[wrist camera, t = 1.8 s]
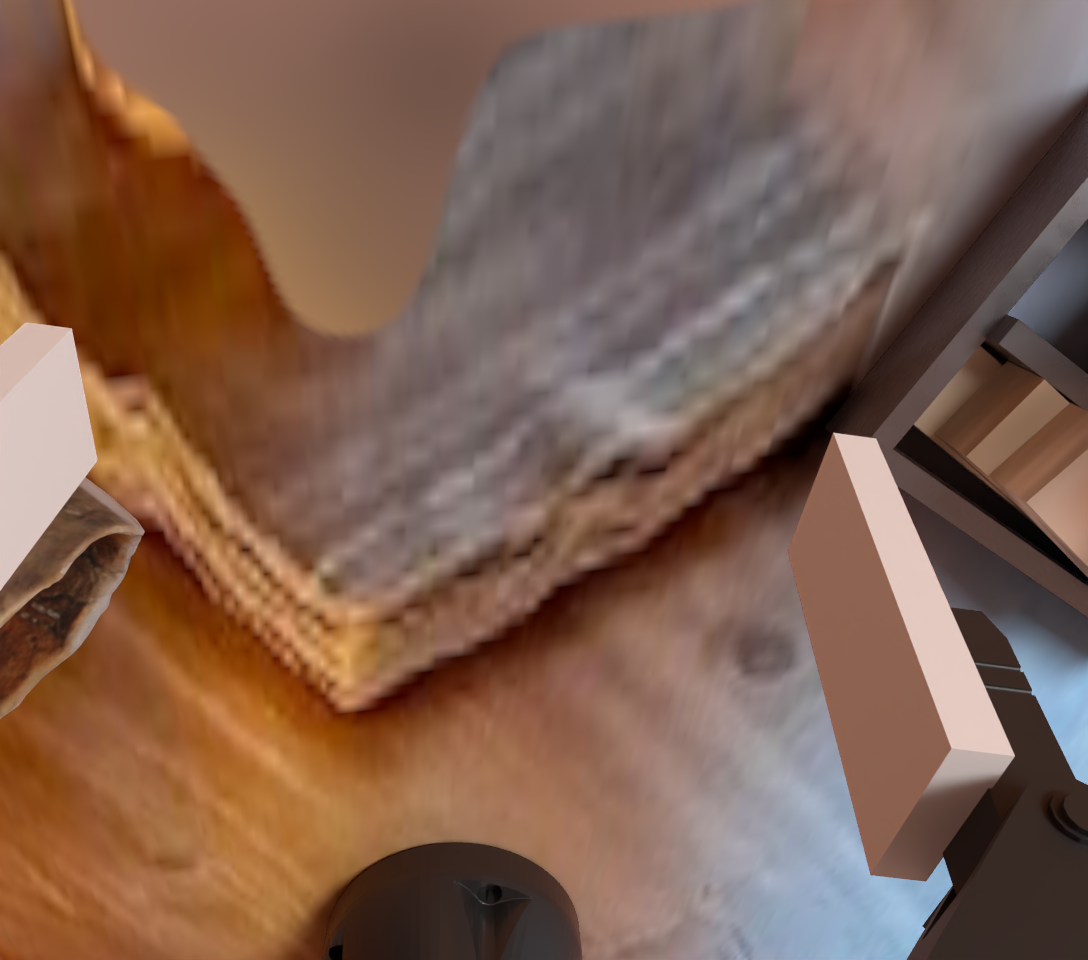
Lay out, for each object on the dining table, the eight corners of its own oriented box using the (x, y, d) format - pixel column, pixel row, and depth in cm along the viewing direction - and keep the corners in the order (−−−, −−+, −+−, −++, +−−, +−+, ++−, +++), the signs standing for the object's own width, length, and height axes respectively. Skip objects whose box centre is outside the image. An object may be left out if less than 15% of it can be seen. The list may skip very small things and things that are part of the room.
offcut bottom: (1177, 529, 49) (1219, 554, 46) (1113, 589, 50) (1150, 617, 47) (947, 329, 44) (978, 344, 41) (882, 401, 45) (909, 420, 42)
